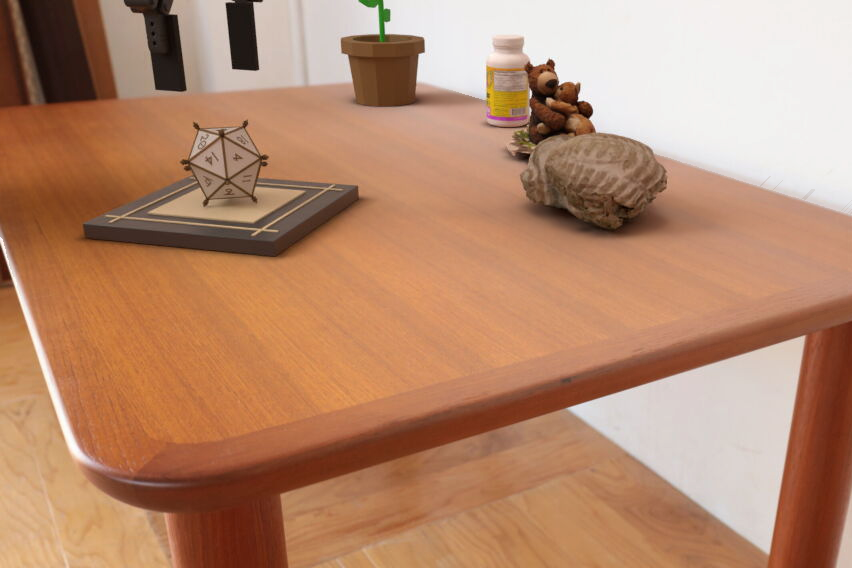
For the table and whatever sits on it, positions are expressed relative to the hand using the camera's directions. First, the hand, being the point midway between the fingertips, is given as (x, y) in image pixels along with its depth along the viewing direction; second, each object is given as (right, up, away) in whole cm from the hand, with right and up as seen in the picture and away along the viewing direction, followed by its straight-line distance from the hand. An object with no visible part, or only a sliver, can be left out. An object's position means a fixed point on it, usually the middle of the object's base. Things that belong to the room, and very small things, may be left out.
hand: (211, 79), depth 87 cm
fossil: (+38, -12, +9) cm, 41 cm away
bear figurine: (+36, -1, +32) cm, 48 cm away
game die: (0, -11, +5) cm, 12 cm away
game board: (0, -13, +6) cm, 14 cm away
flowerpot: (+7, +16, +68) cm, 70 cm away
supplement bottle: (+29, +8, +51) cm, 59 cm away
